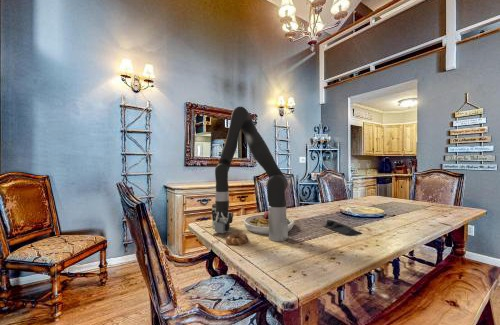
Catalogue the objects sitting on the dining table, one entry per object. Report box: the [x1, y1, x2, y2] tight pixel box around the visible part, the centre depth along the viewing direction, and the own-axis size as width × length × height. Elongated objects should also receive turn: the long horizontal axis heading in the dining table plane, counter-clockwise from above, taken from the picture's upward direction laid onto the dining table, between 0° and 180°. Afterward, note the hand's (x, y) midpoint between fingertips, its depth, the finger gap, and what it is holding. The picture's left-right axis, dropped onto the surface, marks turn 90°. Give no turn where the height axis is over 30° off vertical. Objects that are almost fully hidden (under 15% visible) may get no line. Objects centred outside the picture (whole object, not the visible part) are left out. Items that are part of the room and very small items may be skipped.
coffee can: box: [211, 203, 230, 230], centre depth 139 cm, size 10×10×14 cm
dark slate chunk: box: [322, 219, 364, 237], centre depth 132 cm, size 15×22×5 cm
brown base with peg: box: [212, 231, 232, 238], centre depth 126 cm, size 7×7×6 cm
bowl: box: [243, 210, 294, 235], centre depth 138 cm, size 30×30×8 cm
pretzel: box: [225, 232, 249, 246], centre depth 115 cm, size 12×11×4 cm
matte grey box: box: [214, 220, 231, 233], centre depth 126 cm, size 6×6×5 cm
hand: (222, 229), depth 126 cm, fingers closed on matte grey box, 5 cm apart
